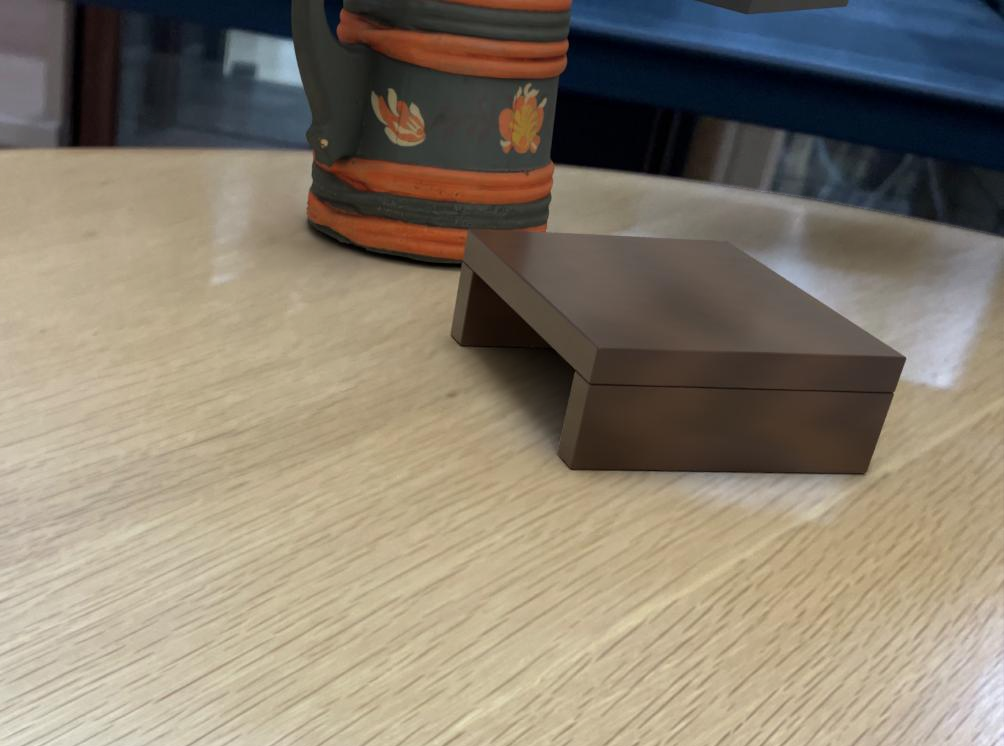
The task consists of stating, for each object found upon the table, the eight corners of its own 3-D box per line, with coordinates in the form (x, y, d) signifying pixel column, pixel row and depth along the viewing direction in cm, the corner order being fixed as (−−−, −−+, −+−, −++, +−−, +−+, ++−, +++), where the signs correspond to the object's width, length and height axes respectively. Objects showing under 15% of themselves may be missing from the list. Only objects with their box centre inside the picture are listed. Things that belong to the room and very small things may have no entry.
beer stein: (382, 293, 82) (444, -170, 69) (201, 226, 90) (226, -203, 77) (590, 252, 93) (677, -155, 80) (413, 195, 101) (466, -185, 88)
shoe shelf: (701, 342, 80) (728, 240, 77) (867, 474, 67) (908, 357, 64) (449, 334, 78) (467, 227, 74) (570, 469, 64) (598, 347, 61)
